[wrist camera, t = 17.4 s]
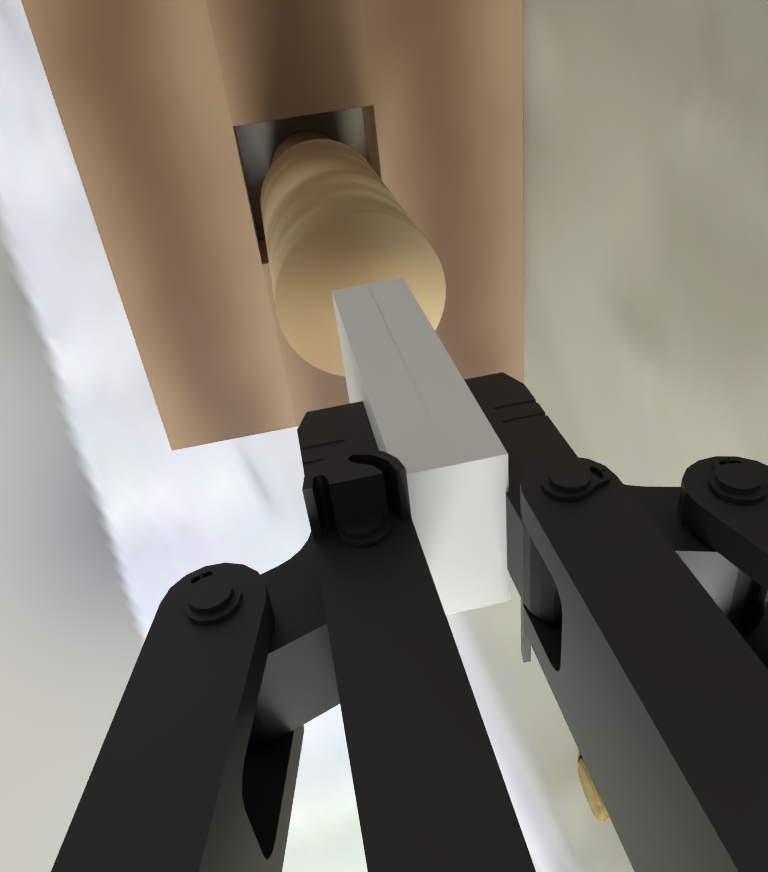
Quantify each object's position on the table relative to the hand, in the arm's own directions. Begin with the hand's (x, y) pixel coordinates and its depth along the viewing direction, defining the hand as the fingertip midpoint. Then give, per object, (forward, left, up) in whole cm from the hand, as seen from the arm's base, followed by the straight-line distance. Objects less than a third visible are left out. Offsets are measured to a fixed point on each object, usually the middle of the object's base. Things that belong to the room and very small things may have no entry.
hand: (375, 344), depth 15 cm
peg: (0, 0, -17) cm, 17 cm away
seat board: (0, 0, -17) cm, 17 cm away
